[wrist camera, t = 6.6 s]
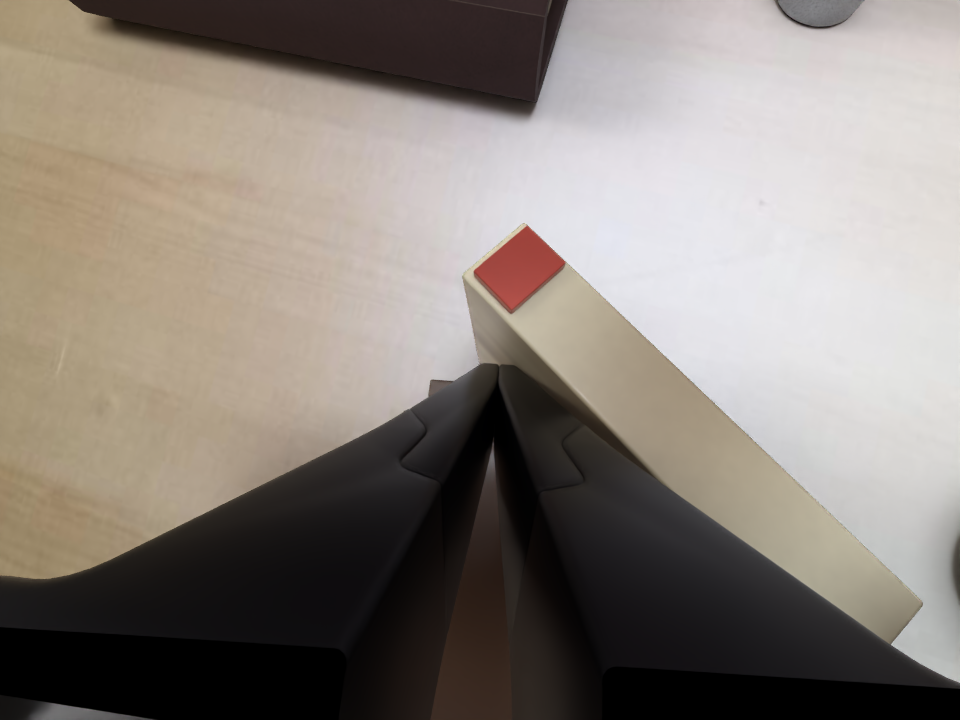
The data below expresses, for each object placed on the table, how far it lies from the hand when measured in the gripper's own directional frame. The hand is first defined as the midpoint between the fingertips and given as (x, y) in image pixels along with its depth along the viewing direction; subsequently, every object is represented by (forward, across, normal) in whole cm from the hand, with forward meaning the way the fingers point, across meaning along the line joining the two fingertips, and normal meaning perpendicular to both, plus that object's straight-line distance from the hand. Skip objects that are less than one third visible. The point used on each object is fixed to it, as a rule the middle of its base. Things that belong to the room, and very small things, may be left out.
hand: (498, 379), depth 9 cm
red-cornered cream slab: (+3, +3, -4) cm, 6 cm away
